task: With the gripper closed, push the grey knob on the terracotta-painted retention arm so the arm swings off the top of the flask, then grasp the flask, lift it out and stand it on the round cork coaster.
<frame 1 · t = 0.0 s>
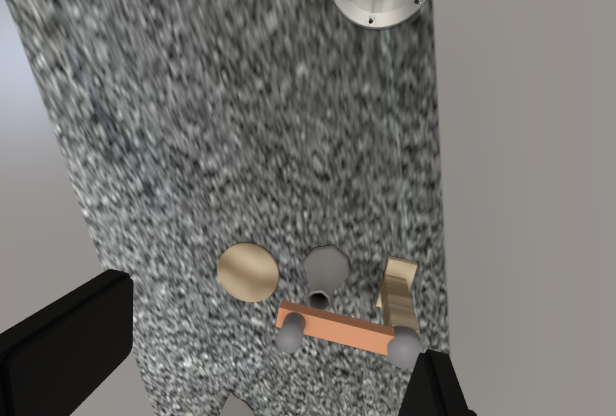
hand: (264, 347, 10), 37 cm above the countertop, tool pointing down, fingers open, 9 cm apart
flask: (327, 265, 50), on the countertop
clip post: (392, 282, 48), on the countertop
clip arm: (347, 341, 34), point 16 cm above the countertop, hinge at 0.0°
coaster: (249, 271, 52), on the countertop
paper towel roll: (241, 410, 60), on the countertop
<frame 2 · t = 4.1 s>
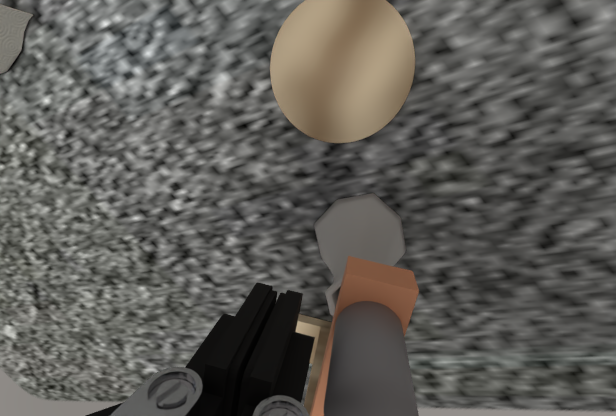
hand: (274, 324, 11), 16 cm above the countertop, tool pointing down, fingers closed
flask: (359, 235, 27), on the countertop
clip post: (335, 337, 29), on the countertop
coaster: (340, 71, 23), on the countertop
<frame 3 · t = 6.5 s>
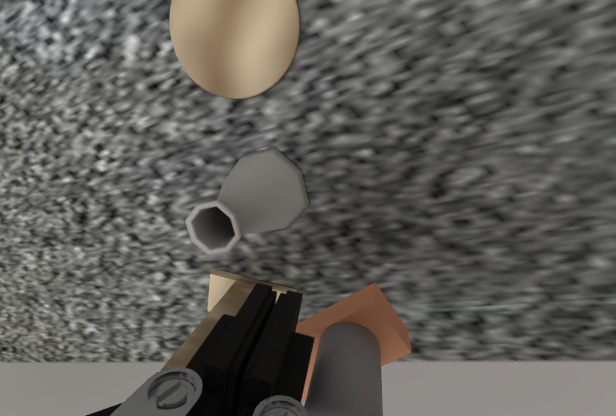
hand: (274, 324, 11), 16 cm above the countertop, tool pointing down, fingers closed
flask: (267, 190, 28), on the countertop
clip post: (253, 293, 30), on the countertop
coaster: (235, 29, 25), on the countertop
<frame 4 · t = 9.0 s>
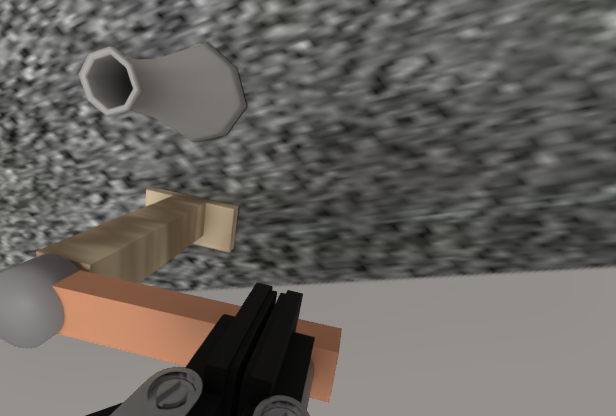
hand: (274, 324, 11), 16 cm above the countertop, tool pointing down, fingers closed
flask: (203, 95, 26), on the countertop
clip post: (194, 212, 29), on the countertop
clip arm: (136, 350, 13), point 16 cm above the countertop, hinge at 87.8°, touching gripper
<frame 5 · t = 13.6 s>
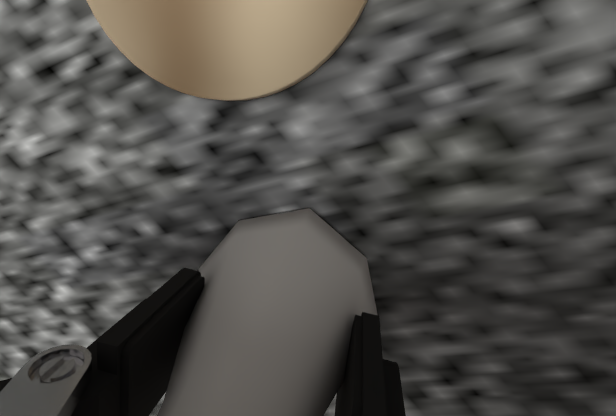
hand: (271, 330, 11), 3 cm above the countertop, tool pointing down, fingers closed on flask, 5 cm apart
flask: (289, 289, 14), on the countertop, touching gripper
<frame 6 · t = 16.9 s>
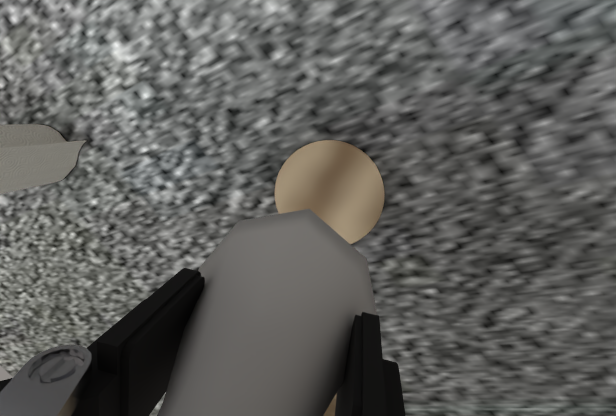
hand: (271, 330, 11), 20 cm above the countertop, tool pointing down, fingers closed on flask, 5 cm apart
flask: (289, 289, 14), point 17 cm above the countertop, touching gripper
coaster: (328, 194, 30), on the countertop
paper towel roll: (55, 155, 34), on the countertop
when the fingers open (4 cm above the countertop, at t = 20.0 s): flask stays where it is, resting on coaster.
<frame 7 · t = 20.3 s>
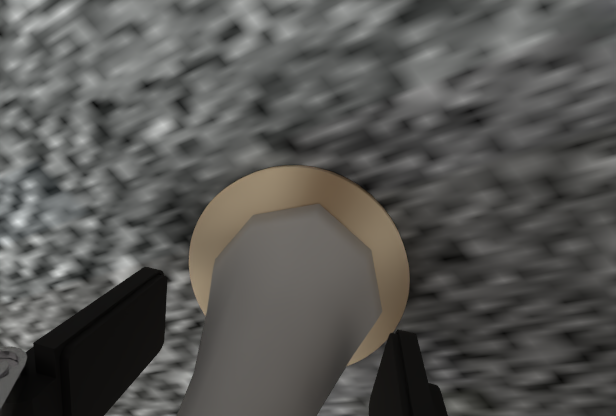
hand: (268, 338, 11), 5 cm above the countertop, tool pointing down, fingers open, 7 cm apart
flask: (298, 279, 15), point 1 cm above the countertop, touching coaster
coaster: (296, 271, 15), on the countertop
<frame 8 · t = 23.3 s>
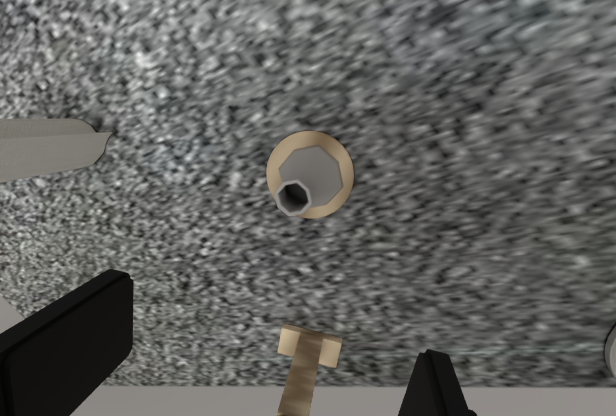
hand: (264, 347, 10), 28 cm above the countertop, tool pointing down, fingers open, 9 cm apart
flask: (311, 176, 37), point 1 cm above the countertop, touching coaster
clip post: (310, 340, 43), on the countertop
coaster: (310, 175, 37), on the countertop
paper towel roll: (86, 144, 41), on the countertop
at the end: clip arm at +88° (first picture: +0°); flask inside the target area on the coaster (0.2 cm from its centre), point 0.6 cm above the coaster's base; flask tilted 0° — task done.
